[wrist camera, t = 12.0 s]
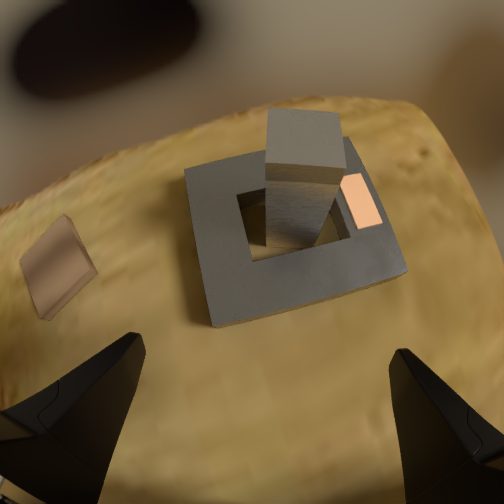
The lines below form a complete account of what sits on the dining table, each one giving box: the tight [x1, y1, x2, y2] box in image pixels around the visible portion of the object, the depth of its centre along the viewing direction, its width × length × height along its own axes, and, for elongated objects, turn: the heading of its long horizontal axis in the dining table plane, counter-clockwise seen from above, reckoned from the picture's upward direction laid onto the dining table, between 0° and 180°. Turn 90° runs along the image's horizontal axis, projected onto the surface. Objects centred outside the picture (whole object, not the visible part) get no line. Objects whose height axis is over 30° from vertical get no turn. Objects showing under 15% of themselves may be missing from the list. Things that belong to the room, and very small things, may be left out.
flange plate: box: [184, 136, 408, 328], centre depth 24 cm, size 14×16×3 cm
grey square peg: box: [265, 108, 347, 249], centre depth 19 cm, size 4×4×12 cm
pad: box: [20, 214, 98, 321], centre depth 24 cm, size 8×8×2 cm
